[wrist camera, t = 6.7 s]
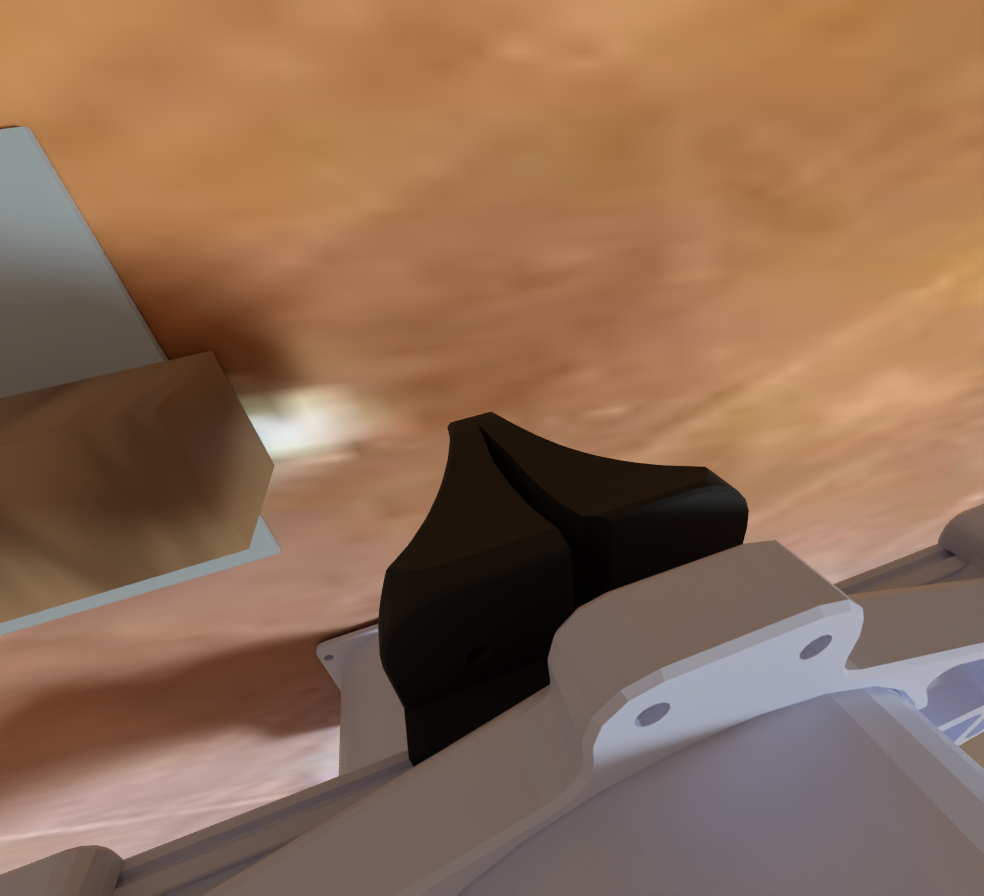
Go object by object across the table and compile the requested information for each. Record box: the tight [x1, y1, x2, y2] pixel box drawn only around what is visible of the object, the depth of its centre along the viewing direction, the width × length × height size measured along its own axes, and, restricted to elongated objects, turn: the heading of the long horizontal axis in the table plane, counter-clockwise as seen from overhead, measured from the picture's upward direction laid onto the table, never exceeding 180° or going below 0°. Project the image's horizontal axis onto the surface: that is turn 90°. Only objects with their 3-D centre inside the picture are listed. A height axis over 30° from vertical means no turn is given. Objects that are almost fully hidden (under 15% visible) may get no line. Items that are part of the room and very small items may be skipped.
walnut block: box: [0, 351, 274, 623], centre depth 13 cm, size 5×5×9 cm
